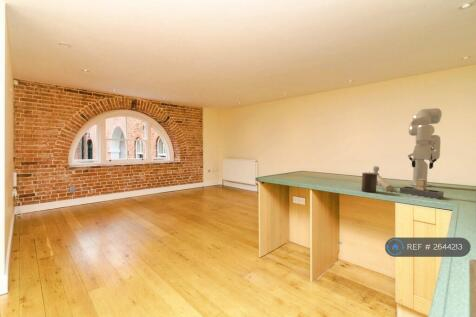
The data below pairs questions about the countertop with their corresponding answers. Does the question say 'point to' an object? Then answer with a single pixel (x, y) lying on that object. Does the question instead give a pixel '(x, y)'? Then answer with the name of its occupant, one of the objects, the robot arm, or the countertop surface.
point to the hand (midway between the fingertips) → (422, 167)
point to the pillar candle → (369, 182)
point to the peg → (421, 184)
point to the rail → (422, 192)
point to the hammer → (381, 180)
